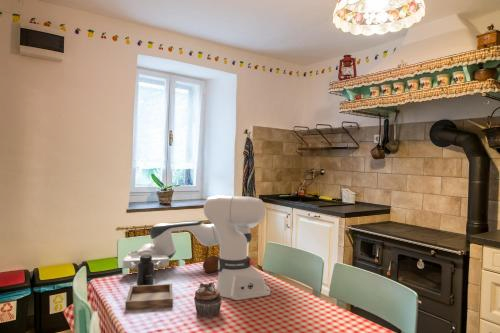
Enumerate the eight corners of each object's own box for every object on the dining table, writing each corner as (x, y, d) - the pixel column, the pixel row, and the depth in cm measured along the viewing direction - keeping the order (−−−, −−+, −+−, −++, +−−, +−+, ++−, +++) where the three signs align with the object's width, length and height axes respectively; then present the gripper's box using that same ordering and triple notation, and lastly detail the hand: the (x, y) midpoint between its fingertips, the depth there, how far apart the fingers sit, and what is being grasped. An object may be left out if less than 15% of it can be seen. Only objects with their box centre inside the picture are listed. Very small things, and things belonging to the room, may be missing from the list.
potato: (198, 273, 162) (198, 257, 162) (208, 267, 172) (208, 252, 172) (214, 275, 159) (215, 259, 159) (224, 269, 169) (224, 254, 169)
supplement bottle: (148, 287, 142) (149, 258, 142) (133, 286, 143) (134, 257, 143) (156, 282, 149) (156, 254, 149) (141, 280, 150) (142, 253, 150)
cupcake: (197, 320, 113) (198, 290, 113) (191, 309, 122) (192, 281, 122) (225, 316, 117) (226, 287, 117) (217, 305, 126) (218, 278, 126)
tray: (171, 291, 139) (172, 283, 139) (172, 307, 123) (172, 298, 123) (130, 293, 135) (130, 286, 135) (125, 310, 120) (125, 301, 120)
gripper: (169, 263, 167) (169, 272, 154) (124, 265, 162) (121, 275, 149) (169, 250, 167) (169, 258, 154) (124, 252, 162) (121, 260, 149)
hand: (145, 266), depth 151 cm, fingers open, 8 cm apart
